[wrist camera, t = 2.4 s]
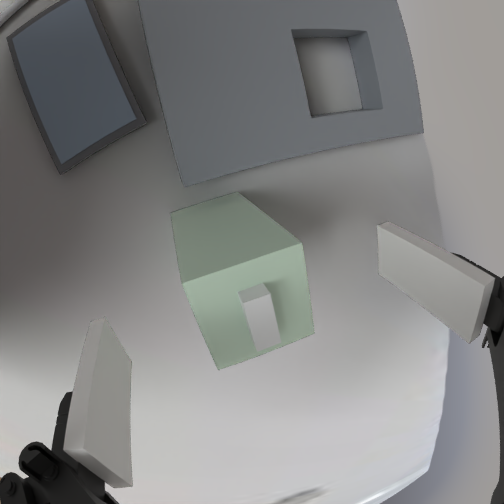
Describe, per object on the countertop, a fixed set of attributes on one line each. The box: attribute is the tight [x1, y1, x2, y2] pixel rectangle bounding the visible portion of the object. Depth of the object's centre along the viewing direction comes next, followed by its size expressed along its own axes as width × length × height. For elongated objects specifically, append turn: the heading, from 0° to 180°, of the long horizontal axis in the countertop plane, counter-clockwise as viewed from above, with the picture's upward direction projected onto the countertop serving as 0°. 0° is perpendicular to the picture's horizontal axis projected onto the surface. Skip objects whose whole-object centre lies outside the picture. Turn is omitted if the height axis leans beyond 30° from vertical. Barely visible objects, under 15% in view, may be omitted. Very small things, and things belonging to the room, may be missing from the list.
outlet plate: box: [138, 0, 424, 187], centre depth 15 cm, size 18×14×2 cm
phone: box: [7, 0, 147, 175], centre depth 13 cm, size 6×11×1 cm, turn 23°
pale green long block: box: [171, 192, 315, 370], centre depth 15 cm, size 4×4×10 cm
